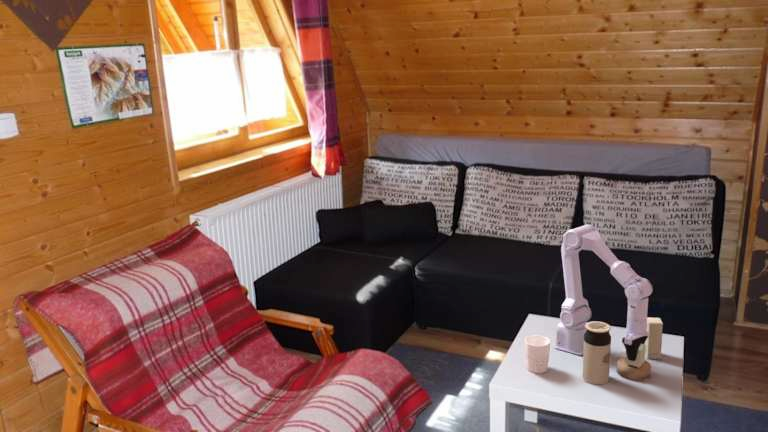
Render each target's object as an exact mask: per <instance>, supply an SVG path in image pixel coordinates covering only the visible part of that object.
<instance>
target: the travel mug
mask: <svg viewBox="0 0 768 432" xmlns="http://www.w3.org/2000/svg"><path fill="white" fill-rule="evenodd" d="M585 327H586V332H585V333H584V349H583V354H582V374H581V375H582V379H583V380H584V381H586V382H587V383H590V384H594V385H603V384H606V383H608V382H609V381H610V363H611V350H612V348H611V347H612V346H611V344H612V335H611V334H610V331H611V330H612V329H611V328H612V327H611V325H610V324H608V323H606V322H603V321H595V320H594V321H589V322H588V321H587V324H586V325H585Z"/></svg>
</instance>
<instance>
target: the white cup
mask: <svg viewBox="0 0 768 432" xmlns="http://www.w3.org/2000/svg"><path fill="white" fill-rule="evenodd" d="M524 345H525V346H524V347H525V363H526V370H527V371H529V372H530V373H533V374H543V373H546V372H547V371H548V365H549V359H550V347H551V340H550V339H549V338H548V337H546V336H543V335H536V334H535V335H529V336H526V338H525V339H524Z"/></svg>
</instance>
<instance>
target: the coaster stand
mask: <svg viewBox="0 0 768 432" xmlns="http://www.w3.org/2000/svg"><path fill="white" fill-rule="evenodd" d="M616 362H617V365H616V373H617V374H618V375H619V376H620V377H621V378H624V379H626V380H629V381H635V382H640V381H641V382H642V381H647V380H648V379H650V377H651V373H652V372H651V371H652V366H651V363H649V361H648V360H645V362H644V363H643V364H642V365H641V366H640V367H636V366H633V365H629V364H626V363H625V356H624V357H621V358H619V359H617V361H616Z"/></svg>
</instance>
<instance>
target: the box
mask: <svg viewBox="0 0 768 432" xmlns="http://www.w3.org/2000/svg"><path fill="white" fill-rule="evenodd" d="M663 325H664V323H663V321H662V319H661V318H660V317H650V316H649V317H648V316H647V332H650V335H649V336H648V338H647V339H646V341H645V345H646V349H645V357H646V358H647V359H650V360H651V359H653V360H661V358H662V343H663Z"/></svg>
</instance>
